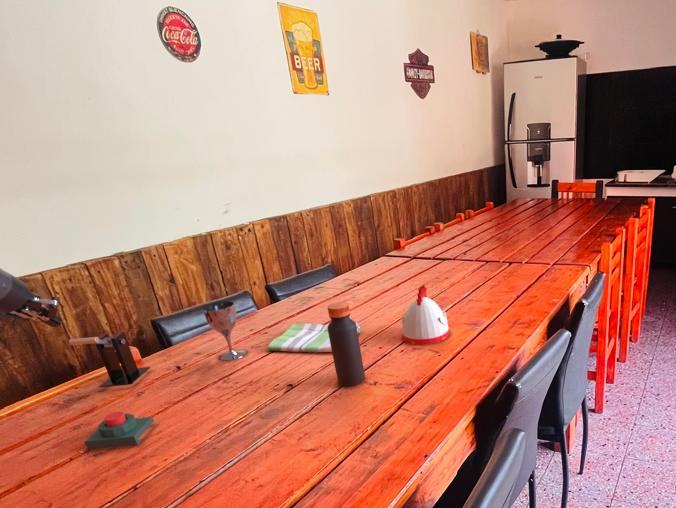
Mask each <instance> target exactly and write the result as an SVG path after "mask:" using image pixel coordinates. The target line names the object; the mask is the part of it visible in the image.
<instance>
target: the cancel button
mask: <svg viewBox="0 0 676 508" xmlns="http://www.w3.org/2000/svg"><path fill="white" fill-rule="evenodd" d="M124 414H125V413H124V412H123V411H115V412H112V413H109V414H107V415H106V416H104V417H103V421H105V423H106V425H107V427H114V426H117V425H120V424H122V423H124V422H125V421H126V417H125V415H124Z"/></svg>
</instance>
